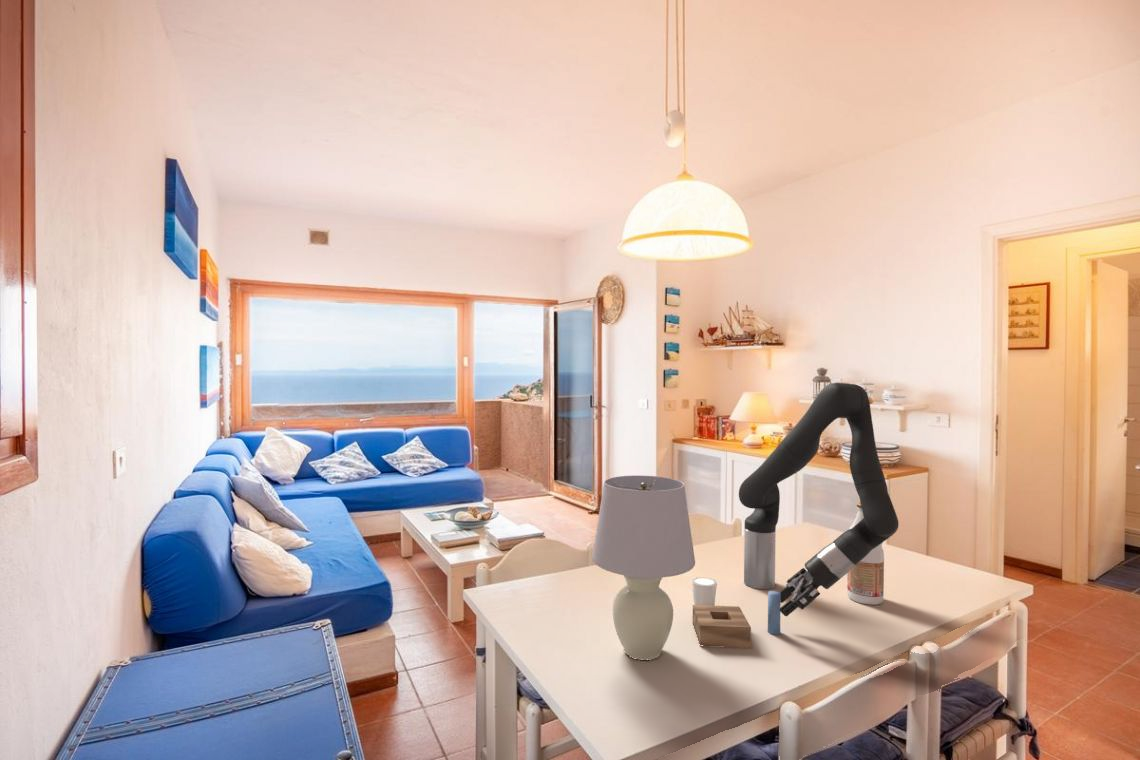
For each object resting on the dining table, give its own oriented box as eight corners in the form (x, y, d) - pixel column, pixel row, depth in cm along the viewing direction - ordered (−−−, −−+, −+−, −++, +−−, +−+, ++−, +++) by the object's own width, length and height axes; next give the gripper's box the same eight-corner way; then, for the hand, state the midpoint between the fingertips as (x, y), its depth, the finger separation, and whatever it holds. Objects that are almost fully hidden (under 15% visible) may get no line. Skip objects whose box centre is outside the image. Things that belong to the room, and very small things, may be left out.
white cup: (702, 612, 153) (703, 587, 153) (686, 603, 159) (686, 579, 159) (721, 608, 157) (722, 583, 156) (705, 599, 163) (705, 575, 163)
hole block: (692, 623, 146) (692, 604, 146) (739, 625, 146) (739, 606, 146) (699, 646, 134) (700, 625, 134) (750, 648, 134) (750, 627, 134)
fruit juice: (858, 605, 159) (859, 507, 158) (840, 592, 168) (842, 500, 168) (890, 605, 159) (891, 507, 159) (871, 592, 168) (872, 500, 168)
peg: (766, 629, 144) (766, 590, 143) (778, 629, 143) (778, 591, 143) (769, 634, 141) (769, 595, 140) (781, 635, 140) (782, 595, 140)
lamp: (622, 689, 116) (623, 497, 115) (575, 638, 138) (576, 477, 137) (716, 666, 125) (717, 488, 125) (658, 622, 147) (659, 471, 147)
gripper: (812, 545, 146) (766, 584, 149) (823, 562, 132) (772, 605, 135) (834, 567, 145) (787, 606, 148) (848, 587, 131) (795, 630, 134)
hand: (780, 606), depth 142 cm, fingers open, 8 cm apart
